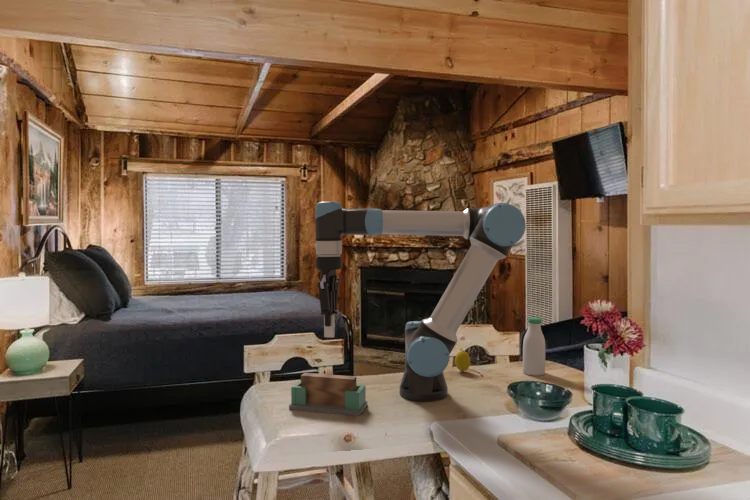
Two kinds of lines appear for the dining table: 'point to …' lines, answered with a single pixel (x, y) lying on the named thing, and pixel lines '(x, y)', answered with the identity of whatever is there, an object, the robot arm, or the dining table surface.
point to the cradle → (353, 405)
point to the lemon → (462, 360)
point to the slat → (327, 388)
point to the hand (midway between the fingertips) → (329, 336)
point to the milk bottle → (534, 349)
